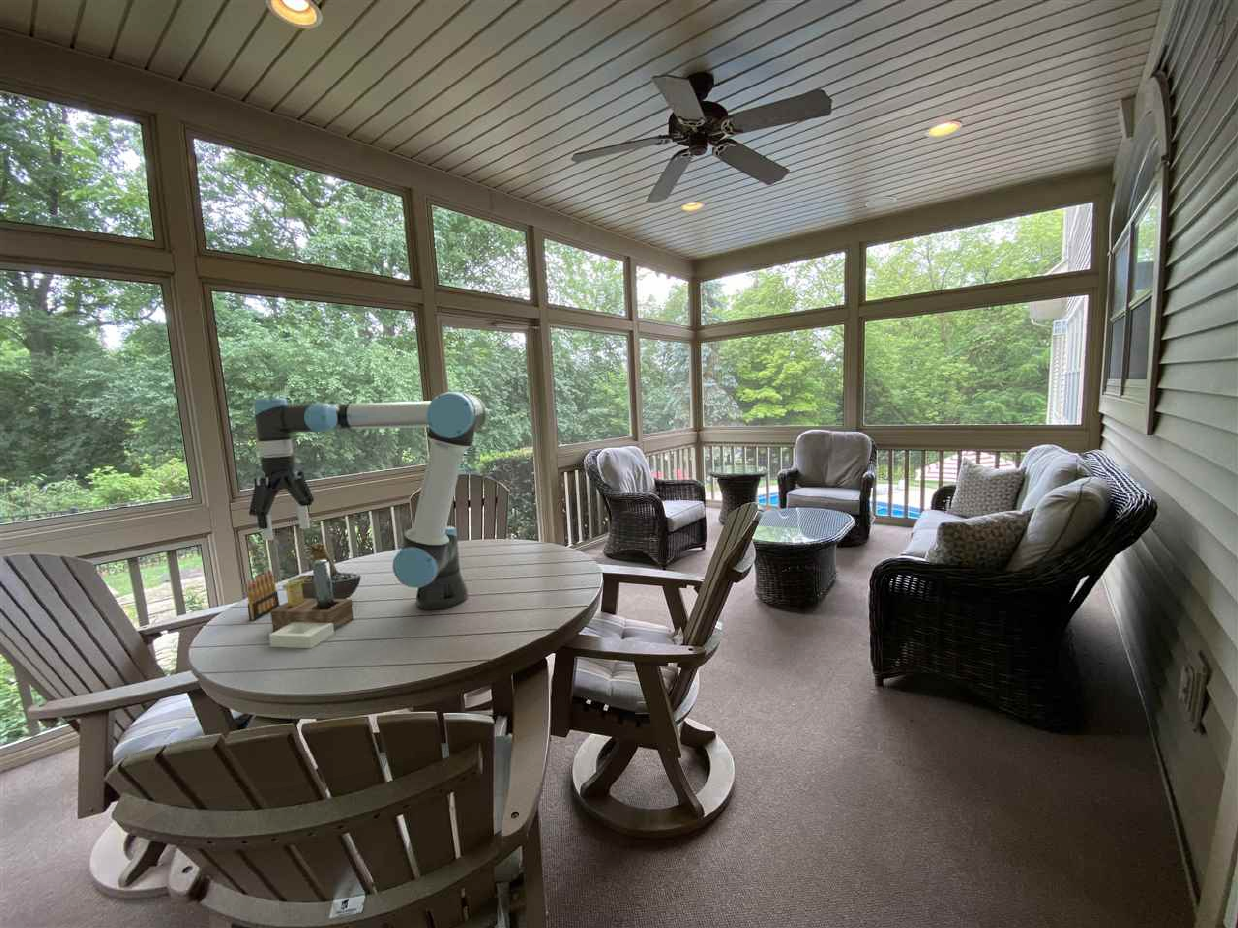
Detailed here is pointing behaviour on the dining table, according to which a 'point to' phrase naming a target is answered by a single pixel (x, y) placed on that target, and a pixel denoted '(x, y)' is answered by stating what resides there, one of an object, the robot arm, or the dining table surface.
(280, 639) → the block
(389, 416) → the robot arm
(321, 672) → the dining table surface
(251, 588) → the ammunition clip
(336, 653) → the dining table surface
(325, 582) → the grey metal cylinder
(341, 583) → the planter
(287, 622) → the socket block
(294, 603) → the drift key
